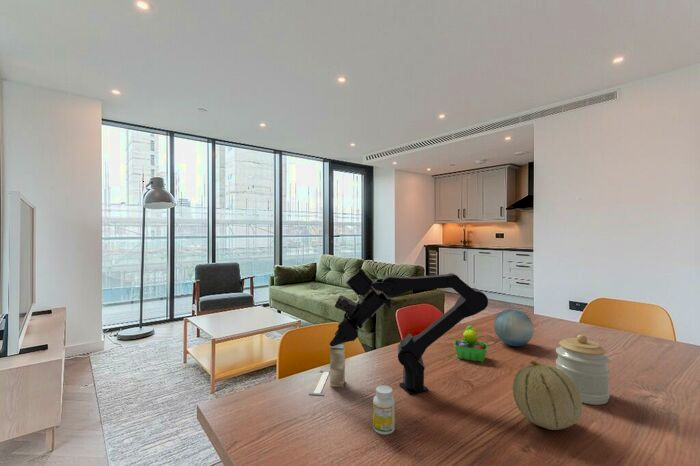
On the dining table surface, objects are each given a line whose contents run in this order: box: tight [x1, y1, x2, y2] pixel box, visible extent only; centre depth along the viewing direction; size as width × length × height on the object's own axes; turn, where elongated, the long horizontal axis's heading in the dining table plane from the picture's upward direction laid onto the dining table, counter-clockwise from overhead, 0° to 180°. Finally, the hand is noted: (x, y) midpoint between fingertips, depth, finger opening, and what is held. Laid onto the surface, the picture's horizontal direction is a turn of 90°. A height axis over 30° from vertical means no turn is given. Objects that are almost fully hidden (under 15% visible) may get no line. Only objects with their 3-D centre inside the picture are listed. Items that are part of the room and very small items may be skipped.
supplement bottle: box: [372, 384, 396, 436], centre depth 78 cm, size 5×5×10 cm
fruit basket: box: [454, 325, 488, 363], centre depth 122 cm, size 11×9×11 cm
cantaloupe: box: [511, 360, 583, 431], centre depth 80 cm, size 15×15×15 cm
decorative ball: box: [493, 308, 535, 347], centre depth 135 cm, size 15×15×15 cm
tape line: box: [308, 369, 330, 397], centre depth 101 cm, size 16×4×1 cm, turn 173°
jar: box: [555, 334, 611, 406], centre depth 95 cm, size 13×13×18 cm
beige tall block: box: [329, 343, 346, 388], centre depth 101 cm, size 4×4×12 cm
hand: (333, 340), depth 101 cm, fingers open, 9 cm apart
